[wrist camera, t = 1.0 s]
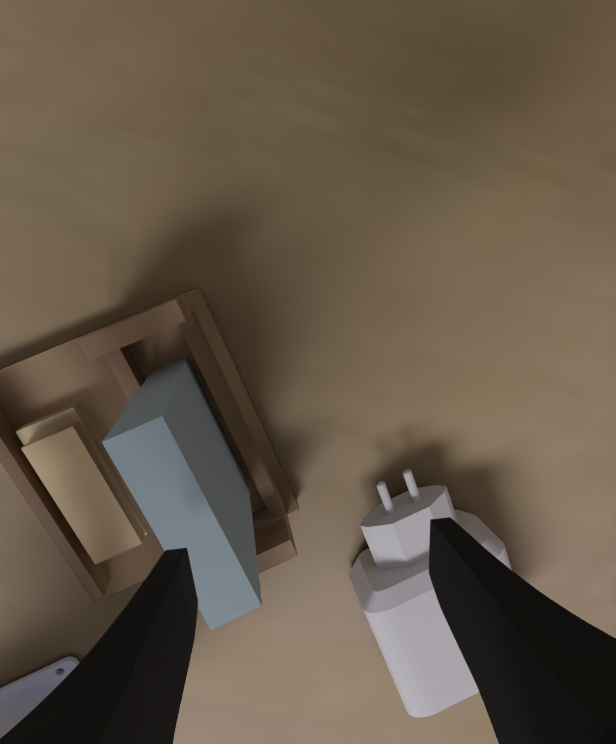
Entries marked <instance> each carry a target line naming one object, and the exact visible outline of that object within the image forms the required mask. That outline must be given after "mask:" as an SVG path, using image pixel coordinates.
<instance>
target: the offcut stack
mask: <svg viewBox="0 0 616 744" xmlns="http://www.w3.org/2000/svg"><path fill="white" fill-rule="evenodd" d="M16 434H17V435H18V437H19V438H20V440H21V442H22V443H23V445H24V446H23V447H22V448H21V449H22V451H23V452H24V454H25V456H26V457H27V459H28V460H29V462H30V463H31V465H32V467H33V468H34V470H35V471H36V473H37V474H38V476H39V477H40V479H41V481H42V482H43V484H44V485H45V487H46V488H47V490H48V492H49V493H50V495H51V496H52V498H53V499H54V501H55V502H56V504H57V506H58V507H59V509H60V510H61V512H62V513H63V515H64V517H65V518H66V520H67V521H68V523H69V524H70V526H71V528H72V529H73V531H74V532H75V534H76V535H77V537H78V538H79V540H80V542H81V543H82V545H83V546H84V548H85V549H86V551H87V553H88V554H89V556H90V557H91V559H92V560H93V562H94V563H95V565H96V564H98V563H100V562H102V561H105V560H107V559H109V558H111V557H113V556H116V555H118V554H120V553H122V552H124V551H127V550H129V549H131V548H133V547H135V546H138V545H140V544H142V542H143V539H144V536H145V535H147V534H148V532H149V528H150V525H149V523H148V521H147V519H146V518H145V516H144V514H143V512H142V511H141V509H140V507H139V506H138V504H137V502H136V500H135V499H134V497H133V495H132V493H131V492H130V490H129V488H128V487H127V485H126V483H125V481H124V480H123V478H122V476H121V474H120V473H119V471H118V469H117V468H116V466H115V464H114V462H113V461H112V459H111V457H110V455H109V454H108V452H107V450H106V449H105V447H104V445H103V443H102V441H101V439H100V438H99V436H98V434H97V432H96V431H95V429H94V427H93V425H92V424H91V422H90V420H89V419H88V417H87V415H86V413H85V412H84V410H83V408H82V406H81V405H80V403H79V402H78V403H76V404H73V405H71V406H69V407H66V408H64V409H62V410H59V411H57V412H54V413H52V414H50V415H47V416H45V417H43V418H40V419H38V420H36V421H33V422H31V423H28V424H26V425H24V426H22V427H21V428H20V429H18V430H17V431H16Z"/></svg>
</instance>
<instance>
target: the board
mask: <svg viewBox="0 0 616 744" xmlns="http://www.w3.org/2000/svg"><path fill="white" fill-rule="evenodd" d="M102 443H103V445H104V447H105V449H106V450H107V452H108V454H109V455H110V457H111V459H112V461H113V462H114V464H115V466H116V468H117V469H118V471H119V473H120V474H121V476H122V478H123V480H124V481H125V483H126V485H127V487H128V488H129V490H130V492H131V493H132V495H133V497H134V499H135V500H136V502H137V504H138V506H139V507H140V509H141V511H142V512H143V514H144V516H145V518H146V519H147V521H148V523H149V525H150V526H151V528H152V530H153V532H154V533H155V535H156V537H157V538H158V540H159V542H160V544H161V545H162V547H163V549H164V551H165V550H171V549H179V548H187V550H188V555H189V560H190V565H191V569H192V574H193V579H194V584H195V588H196V593H197V598H198V609H199V611H200V613H201V614H202V616H203V618H204V620H205V621H206V623H207V625H208V627H209V628H210V630H213V629H216V628H218V627H220V626H222V625H224V624H226V623H228V622H230V621H232V620H234V619H237V618H239V617H241V616H243V615H245V614H247V613H249V612H251V611H253V610H255V609H258V608H260V607H262V601H261V592H260V582H259V573H258V564H257V555H256V546H255V537H254V528H253V519H252V510H251V501H250V492H249V483H248V480H247V477H246V475H245V473H244V471H243V469H242V467H241V465H240V463H239V461H238V459H237V457H236V455H235V453H234V451H233V449H232V447H231V445H230V443H229V440H228V438H227V436H226V434H225V432H224V430H223V428H222V426H221V424H220V422H219V420H218V418H217V416H216V414H215V412H214V410H213V408H212V406H211V404H210V401H209V399H208V397H207V395H206V393H205V391H204V389H203V387H202V385H201V383H200V381H199V379H198V377H197V375H196V373H195V371H194V369H193V367H192V365H191V362H190V360H189V358H188V356H187V357H184V358H182V359H180V360H177V361H175V362H173V363H170V364H168V365H165V366H163V367H161V368H158V369H156V370H154V371H152V372H151V373H150V375H149V376H148V377H147V379H146V380H145V382H144V383H143V384H142V386H141V387H140V389H139V390H138V392H137V393H136V394H135V396H134V397H133V399H132V400H131V402H130V403H129V404H128V406H127V407H126V409H125V410H124V411H123V413H122V414H121V416H120V417H119V419H118V420H117V421H116V423H115V424H114V426H113V427H112V429H111V430H110V431H109V433H108V434H107V436H106V437H105V438H104V440H103V441H102Z"/></svg>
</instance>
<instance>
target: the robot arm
mask: <svg viewBox="0 0 616 744" xmlns="http://www.w3.org/2000/svg"><path fill="white" fill-rule="evenodd" d="M429 575H430V579H431V582H432V585H433V588H434V591H435V594H436V597H437V600H438V602H439V605H440V608H441V610H442V612H443V615H444V617H445V619H446V621H447V623H448V625H449V627H450V630H451V632H452V634H453V636H454V638H455V640H456V642H457V645H458V647H459V649H460V651H461V653H462V655H463V657H464V659H465V662H466V664H467V666H468V668H469V670H470V672H471V674H472V676H473V679H474V681H475V683H476V685H477V687H478V690H479V692H480V695H481V697H482V699H483V702H484V704H485V707H486V710H487V712H488V715H489V718H490V720H491V723H492V726H493V729H494V731H495V734H496V737H497V739H498V742H499V744H616V638H614V637H612V636H610V635H608V634H607V633H605V632H603V631H601V630H600V629H598V628H596V627H594V626H592V625H591V624H589V623H587V622H586V621H584V620H582V619H581V618H579V617H577V616H576V615H574V614H572V613H571V612H569V611H568V610H566V609H565V608H563V607H562V606H560V605H559V604H557V603H556V602H554V601H553V600H551V599H549V598H548V597H547V596H545V595H544V594H542V593H541V592H539V591H538V590H537V589H535V588H534V587H533V586H531V585H530V584H529V583H527V582H526V581H525V580H523V579H522V578H521V577H519V576H518V575H517V574H516V573H514V572H513V571H512V570H510V569H509V568H508V567H507V566H506V565H504V564H503V563H502V562H501V561H500V560H498V559H497V558H496V557H495V556H494V555H492V554H491V553H490V552H489V551H488V550H487V549H485V548H484V547H483V546H482V545H481V544H480V543H479V542H478V541H476V540H475V539H474V538H473V537H472V536H471V535H470V534H469V533H468V532H466V531H465V530H464V529H463V528H462V527H461V526H460V525H459V524H458V523H456V522H455V521H454V520H453V519H452V518H451V517H447V518H438V519H430V544H429ZM197 608H198V598H197V593H196V588H195V584H194V579H193V574H192V569H191V565H190V560H189V555H188V550H187V548H179V549H171V550H165V552H164V553H163V554H162V555H161V557H160V558H159V560H158V561H157V563H156V564H155V566H154V567H153V569H152V570H151V572H150V573H149V575H148V576H147V578H146V579H145V580H144V582H143V583H142V585H141V586H140V588H139V589H138V590H137V592H136V593H135V595H134V596H133V597H132V599H131V600H130V601H129V603H128V604H127V605H126V607H125V608H124V610H123V611H122V612H121V614H120V615H119V616H118V617H117V619H116V620H115V621H114V622H113V624H112V625H111V626H110V627H109V629H108V630H107V631H106V632H105V634H104V635H103V636H102V637H101V639H100V640H99V641H98V642H97V643H96V645H95V646H94V647H93V648H92V649H91V650H90V652H89V653H88V654H87V655H86V656H85V657H84V658H83V659H82V661H81V662H79V661H78V660H77V659H76V658H75V657H66V658H64V659H61V660H59V661H57V662H55V663H53V664H51V665H49V666H46V667H44V668H42V669H40V670H38V671H36V672H34V673H31V674H29V675H27V676H25V677H23V678H21V679H19V680H16V681H14V682H12V683H10V684H8V685H6V686H4V687H2V688H0V744H173V739H174V733H175V727H176V722H177V718H178V713H179V708H180V704H181V699H182V694H183V690H184V685H185V681H186V676H187V671H188V667H189V662H190V657H191V652H192V648H193V643H194V638H195V629H196V619H197ZM59 668H61V669H63V670H59Z"/></svg>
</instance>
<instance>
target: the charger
mask: <svg viewBox="0 0 616 744" xmlns="http://www.w3.org/2000/svg"><path fill="white" fill-rule="evenodd" d="M403 476H404V478H405V481H406V484H407V487H408V489H409V491H407V492H405V493H402V494H400V495H398V496H396V497H394V498H390V495H389V493H388V490H387V487H386V485H385V482H383V481H381V482H378V483H377V485H376V486H377V489H378V491H379V494H380V497H381V499H382V502H383V503H380V504H379V505H378V506H377V507H376V508H375V509H374V510H372V511H371V512H370V513H369V514H368V515H367V516H366V517H365V518H364V519H363V521H362V523H361V525H360V526H361V529H362V531H363V534H364V536H365V539H366V541H367V543H368V546H369V548H368V549H366V550H364V551H363V552H361V553H360V554H359V556H358V557H357V559H356V561H355V563H354V565H353V566H352V568H351V570H350V572H349V576H350V578H351V580H352V583H353V585H354V588H355V590H356V593H357V595H358V598H359V600H360V603H361V605H362V607H363V610H364V612H365V615H366V617H367V619H368V622H369V624H370V626H371V629H372V631H373V633H374V635H375V638H376V640H377V642H378V645H379V647H380V649H381V652H382V654H383V656H384V659H385V661H386V663H387V666H388V668H389V670H390V673H391V675H392V677H393V680H394V682H395V684H396V687H397V689H398V691H399V694H400V696H401V698H402V701H403V703H404V705H405V708H406V710H407V712H408V713H409V714H410V715H411V716H413V717H427V716H431V715H433V714H436V713H438V712H440V711H442V710H444V709H446V708H448V707H450V706H452V705H454V704H456V703H458V702H460V701H462V700H464V699H466V698H468V697H470V696H472V695H474V694H476V693H478V692H479V690H478V687H477V685H476V683H475V681H474V679H473V676H472V674H471V672H470V670H469V668H468V666H467V664H466V662H465V659H464V657H463V655H462V653H461V651H460V649H459V647H458V645H457V642H456V640H455V638H454V636H453V634H452V632H451V630H450V627H449V625H448V623H447V621H446V619H445V617H444V615H443V612H442V610H441V608H440V605H439V602H438V600H437V597H436V594H435V591H434V588H433V585H432V582H431V579H430V575H429V544H430V519H438V518H447V517H451V518H452V519H453V520H454V521H455V522H456V523H458V524H459V525H460V526H461V527H462V528H463V529H464V530H465V531H466V532H468V533H469V534H470V535H471V536H472V537H473V538H474V539H475V540H476V541H478V542H479V543H480V544H481V545H482V546H483V547H484V548H485V549H487V550H488V551H489V552H490V553H491V554H492V555H494V556H495V557H496V558H497V559H498V560H500V561H501V562H502V563H503V564H504V565H506V566H507V567H508V568H509V569H510V570H512V569H511V565H510V562H509V559H508V555H507V552H506V549H505V545H504V543H503V542H502V541H501V540H500V539H499V538H498V537H497V536H496V535H495V534H494V533H493V532H492V531H491V530H490V529H489V528H488V527H487V526H486V525H485V524H484V523H483V522H482V521H481V520H480V519H479V518H478V517H477V516H476V515H473V514H471V513H467V512H464V511H461V510H454V508H453V505H452V502H451V499H450V496H449V493H448V490H447V487H446V486H441V485H433V486H427V487H420V488H417V485H416V483H415V480H414V477H413V474H412V471H411V470H409V469H407V470H405V471H404V472H403Z"/></svg>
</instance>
